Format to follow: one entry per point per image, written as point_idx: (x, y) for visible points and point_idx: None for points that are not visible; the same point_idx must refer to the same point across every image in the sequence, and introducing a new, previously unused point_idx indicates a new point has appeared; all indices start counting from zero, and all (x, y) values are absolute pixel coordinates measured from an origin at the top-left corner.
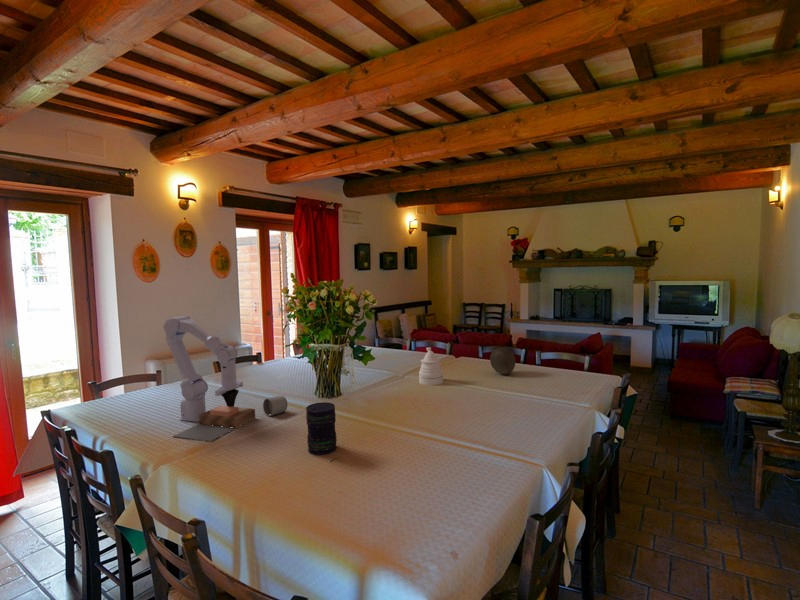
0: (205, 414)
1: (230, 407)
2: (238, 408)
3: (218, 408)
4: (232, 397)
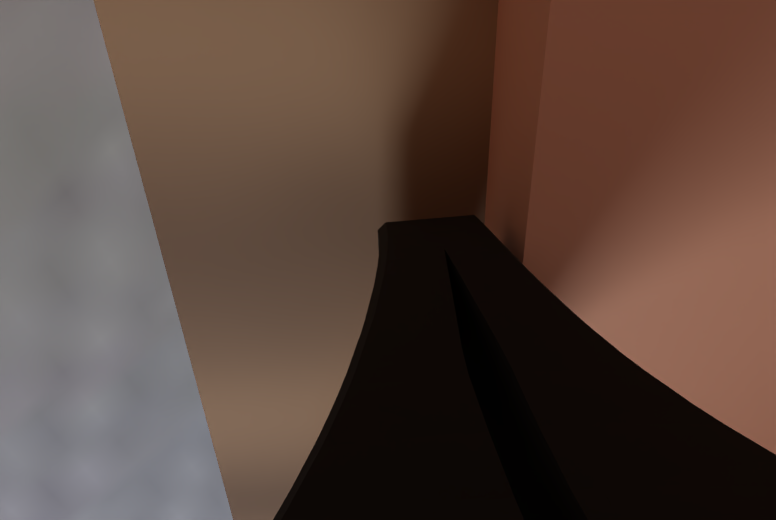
0: None
1: (629, 198)
2: (224, 149)
3: (728, 413)
4: (670, 472)
